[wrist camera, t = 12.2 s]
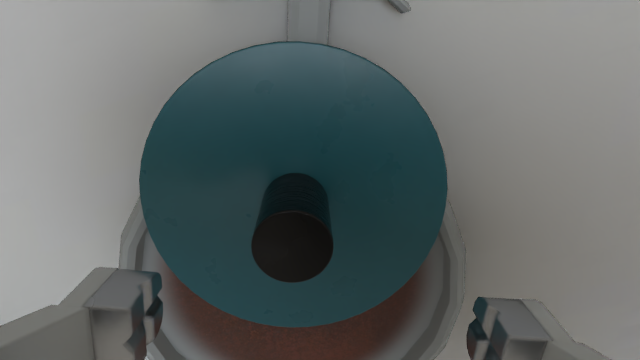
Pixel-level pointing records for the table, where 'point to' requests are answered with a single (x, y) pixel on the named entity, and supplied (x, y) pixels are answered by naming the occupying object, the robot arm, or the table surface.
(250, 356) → the frying pan
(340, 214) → the lid
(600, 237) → the table surface
